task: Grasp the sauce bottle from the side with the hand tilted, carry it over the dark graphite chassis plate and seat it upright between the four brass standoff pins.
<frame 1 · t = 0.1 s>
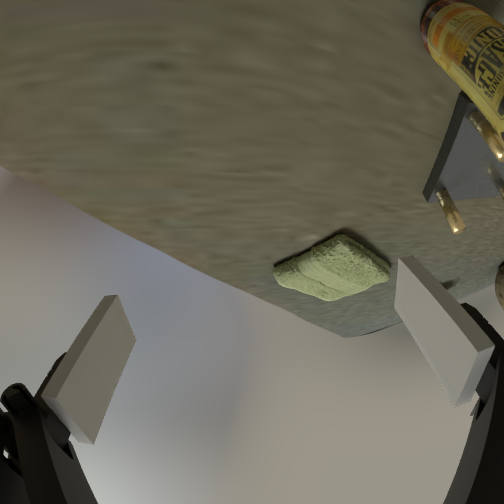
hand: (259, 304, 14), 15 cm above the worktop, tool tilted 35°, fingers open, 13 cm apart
sauce bottle: (445, 29, 15), on the worktop
washcloth: (335, 263, 46), on the worktop
chassis: (486, 149, 25), on the worktop
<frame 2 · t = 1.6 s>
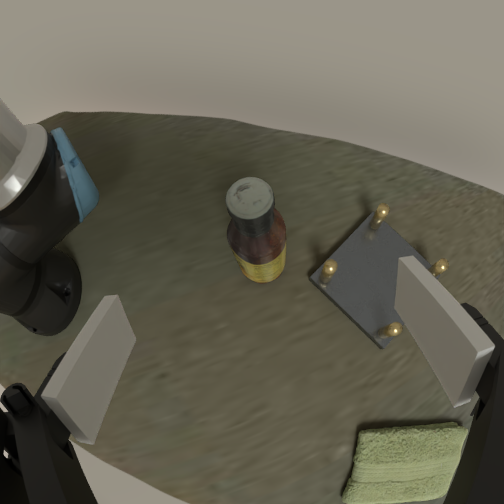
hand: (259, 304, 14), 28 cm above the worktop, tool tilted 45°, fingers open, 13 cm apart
sauce bottle: (263, 265, 44), on the worktop
washcloth: (404, 463, 32), on the worktop
chassis: (377, 279, 41), on the worktop
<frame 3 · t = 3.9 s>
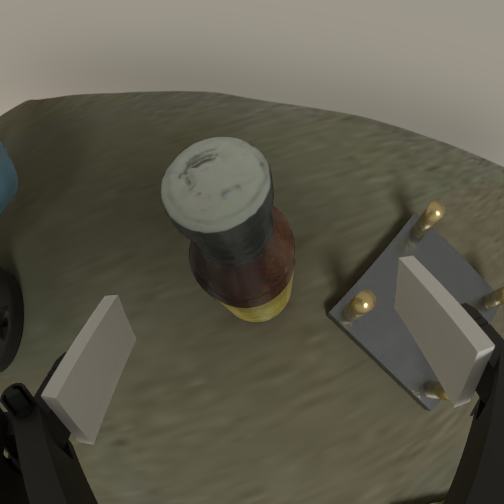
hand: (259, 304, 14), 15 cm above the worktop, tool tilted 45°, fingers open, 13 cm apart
sauce bottle: (258, 294, 29), on the worktop
chassis: (422, 310, 27), on the worktop
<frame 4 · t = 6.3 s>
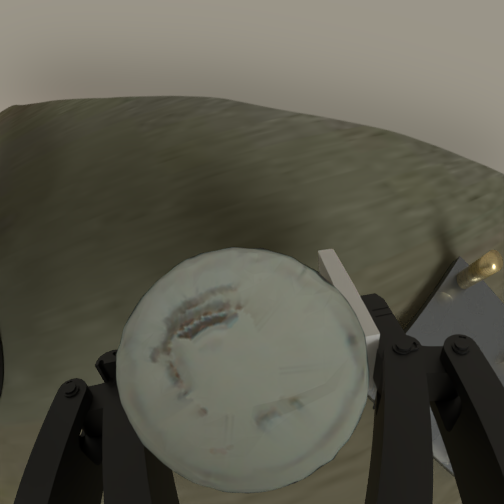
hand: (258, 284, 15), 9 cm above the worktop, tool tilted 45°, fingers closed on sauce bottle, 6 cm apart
sauce bottle: (273, 360, 23), on the worktop, touching gripper
chassis: (461, 371, 20), on the worktop
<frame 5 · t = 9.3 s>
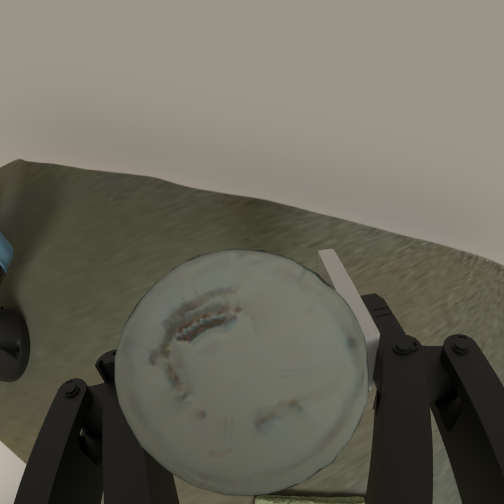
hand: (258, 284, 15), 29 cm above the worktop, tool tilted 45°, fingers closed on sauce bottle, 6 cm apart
sauce bottle: (273, 360, 23), point 19 cm above the worktop, touching gripper
when the fingers open (12 cm above the worktop, at t = 12.8 s): sauce bottle drops 1 cm, resting on chassis.
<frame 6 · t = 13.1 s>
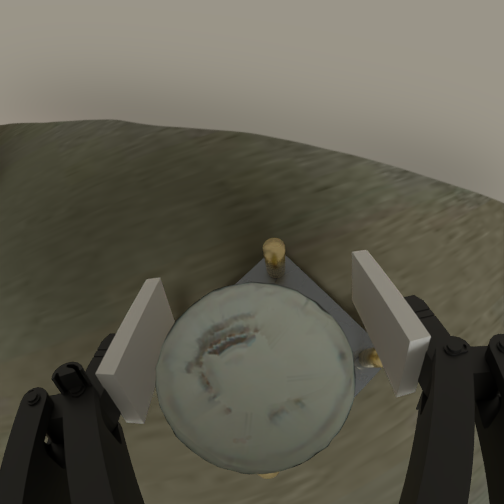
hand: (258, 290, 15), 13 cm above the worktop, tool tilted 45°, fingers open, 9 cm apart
sauce bottle: (272, 361, 24), point 1 cm above the worktop, touching chassis
chassis: (274, 360, 26), on the worktop
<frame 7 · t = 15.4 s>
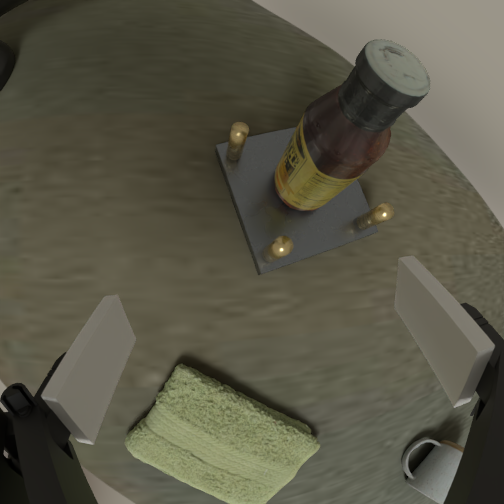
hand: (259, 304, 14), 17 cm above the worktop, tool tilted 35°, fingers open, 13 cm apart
ceramic mug: (420, 461, 31), on the worktop
sauce bottle: (299, 187, 32), point 1 cm above the worktop, touching chassis
washcloth: (222, 441, 29), on the worktop
chassis: (296, 192, 33), on the worktop
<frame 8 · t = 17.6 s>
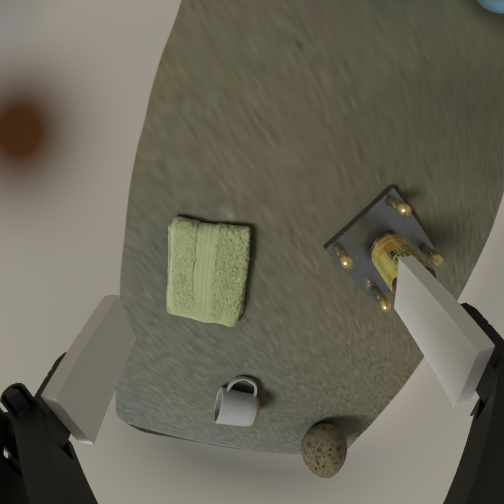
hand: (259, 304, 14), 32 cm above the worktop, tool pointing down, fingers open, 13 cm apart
ceramic mug: (237, 390, 60), on the worktop
sauce bottle: (384, 248, 46), point 1 cm above the worktop, touching chassis
decorative egg: (320, 426, 67), on the worktop
washcloth: (208, 270, 49), on the worktop
chassis: (381, 245, 47), on the worktop
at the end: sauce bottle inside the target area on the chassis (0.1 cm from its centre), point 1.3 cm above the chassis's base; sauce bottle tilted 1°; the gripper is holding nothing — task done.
